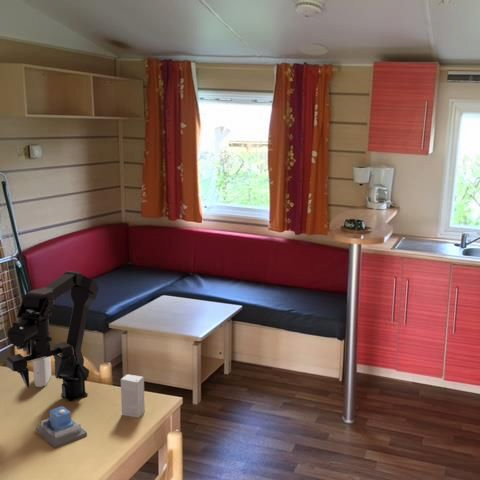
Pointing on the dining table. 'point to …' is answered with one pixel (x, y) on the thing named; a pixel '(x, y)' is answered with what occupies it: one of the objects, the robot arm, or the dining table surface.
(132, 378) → the skincare box
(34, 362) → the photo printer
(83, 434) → the grey shallow tray
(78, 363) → the robot arm
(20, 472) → the dining table surface
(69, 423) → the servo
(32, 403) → the dining table surface
